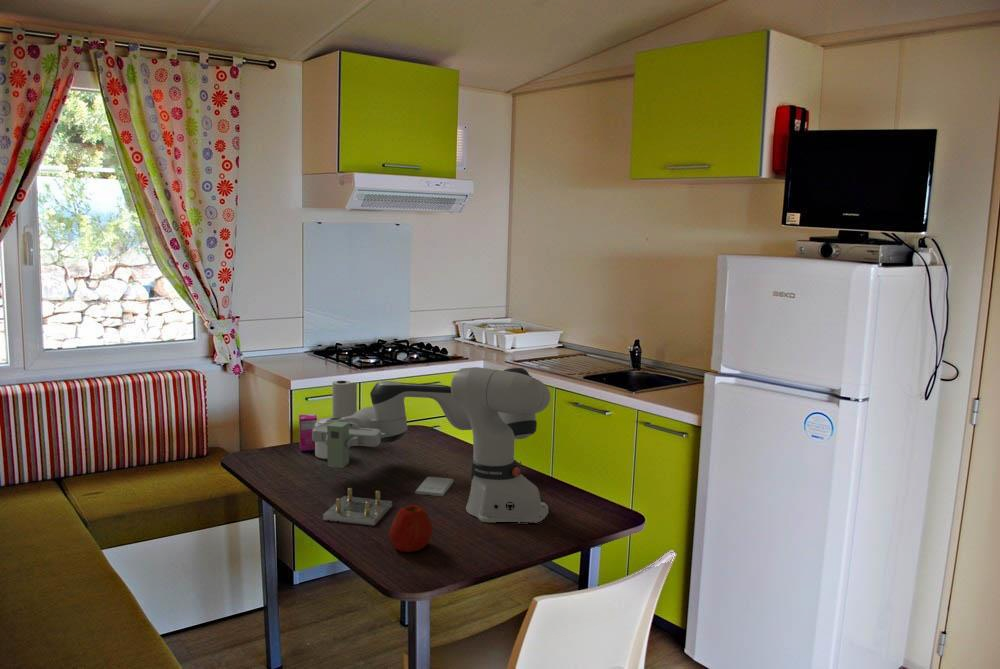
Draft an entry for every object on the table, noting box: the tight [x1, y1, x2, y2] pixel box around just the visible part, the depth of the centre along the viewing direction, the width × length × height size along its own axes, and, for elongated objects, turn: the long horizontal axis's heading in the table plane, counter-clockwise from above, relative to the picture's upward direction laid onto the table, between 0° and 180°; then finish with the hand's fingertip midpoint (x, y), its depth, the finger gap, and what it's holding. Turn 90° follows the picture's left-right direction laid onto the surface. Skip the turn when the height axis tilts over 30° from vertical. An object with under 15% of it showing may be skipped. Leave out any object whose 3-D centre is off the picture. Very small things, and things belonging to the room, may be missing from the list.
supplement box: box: [298, 413, 318, 453], centre depth 270 cm, size 6×6×12 cm
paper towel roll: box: [331, 380, 358, 418], centre depth 277 cm, size 7×6×21 cm
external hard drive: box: [414, 476, 454, 498], centre depth 238 cm, size 2×8×12 cm
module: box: [327, 421, 350, 469], centre depth 233 cm, size 4×5×12 cm
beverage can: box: [314, 417, 330, 460], centre depth 263 cm, size 8×8×12 cm
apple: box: [389, 504, 433, 553], centre depth 197 cm, size 10×10×10 cm
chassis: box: [322, 487, 393, 526], centre depth 217 cm, size 14×14×5 cm
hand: (337, 443), depth 232 cm, fingers closed on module, 4 cm apart
